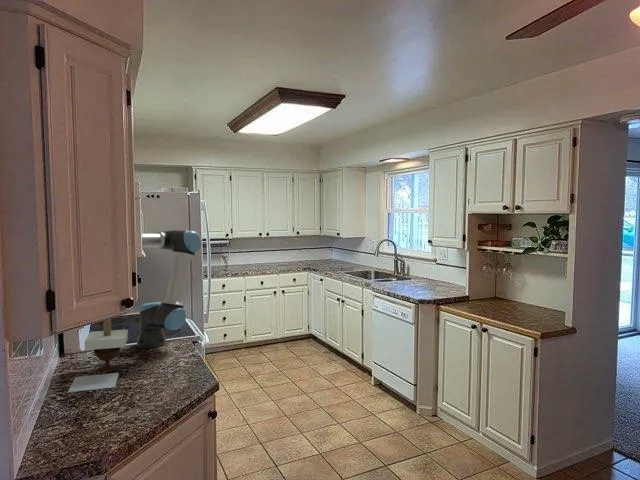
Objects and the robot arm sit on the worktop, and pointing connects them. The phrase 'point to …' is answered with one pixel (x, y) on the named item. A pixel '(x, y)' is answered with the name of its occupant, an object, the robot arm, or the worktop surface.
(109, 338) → the white knobbed square piece
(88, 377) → the mat
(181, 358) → the worktop surface
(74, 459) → the worktop surface
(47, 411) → the worktop surface
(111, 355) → the ice cream bowl
